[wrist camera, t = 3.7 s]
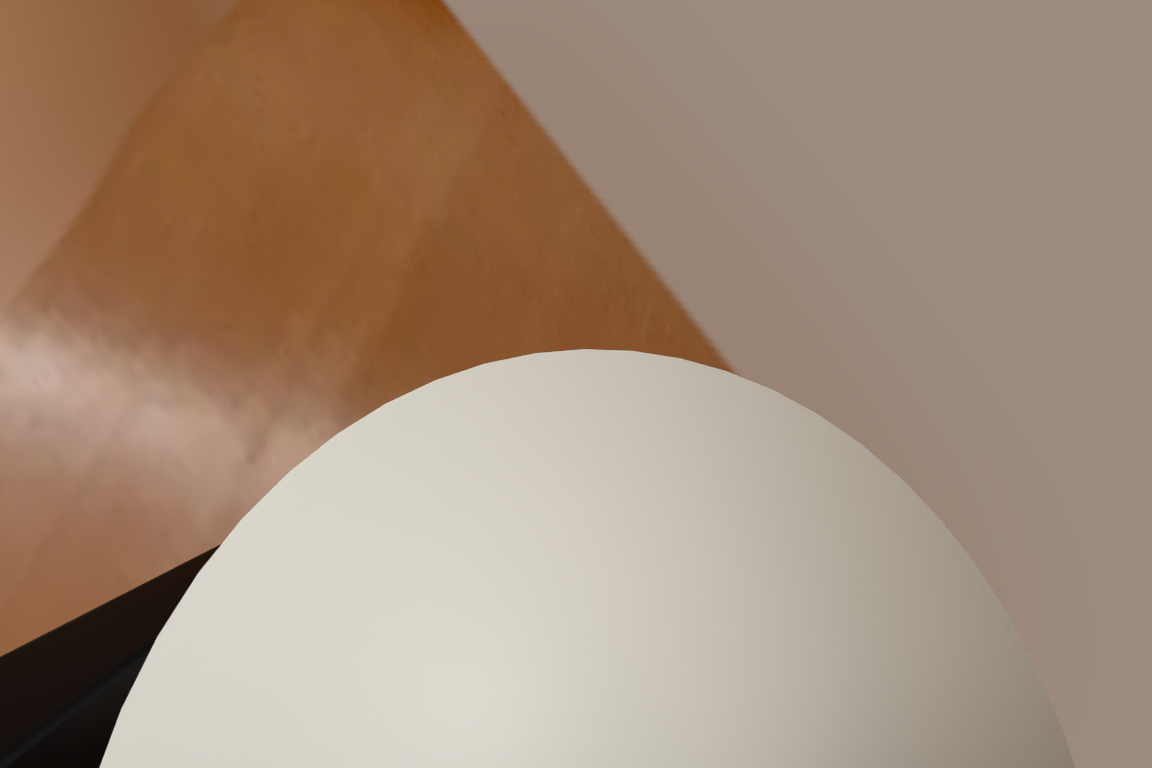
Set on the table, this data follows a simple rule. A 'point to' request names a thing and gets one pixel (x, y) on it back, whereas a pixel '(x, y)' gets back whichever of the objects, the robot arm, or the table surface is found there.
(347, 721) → the cream peg
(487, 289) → the table surface
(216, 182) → the table surface
